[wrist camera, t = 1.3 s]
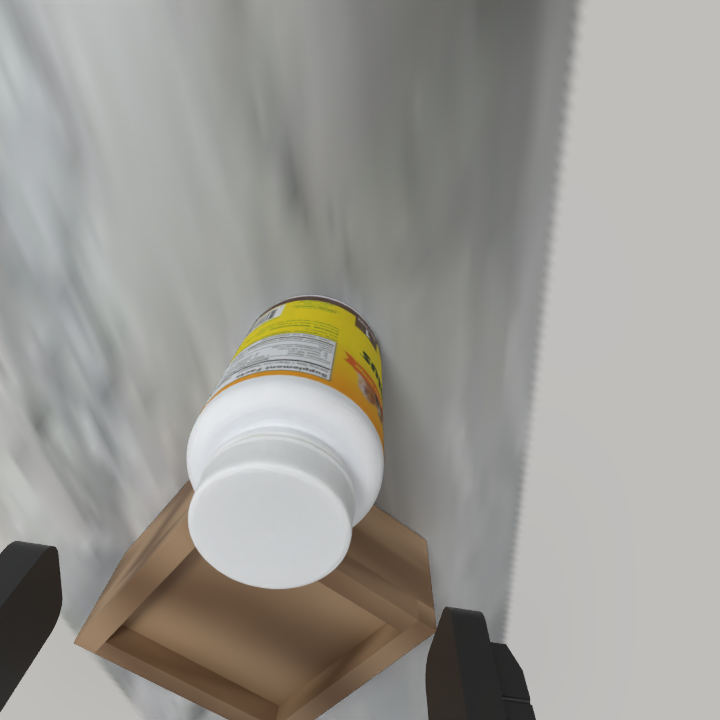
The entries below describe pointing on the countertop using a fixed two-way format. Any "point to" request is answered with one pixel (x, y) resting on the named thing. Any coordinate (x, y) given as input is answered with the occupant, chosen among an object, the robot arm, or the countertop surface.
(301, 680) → the walnut tray
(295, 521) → the supplement bottle
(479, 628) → the robot arm
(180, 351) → the countertop surface
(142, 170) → the countertop surface
